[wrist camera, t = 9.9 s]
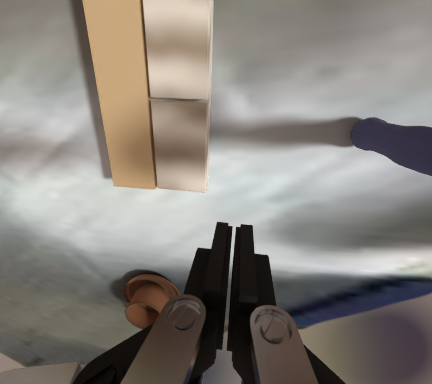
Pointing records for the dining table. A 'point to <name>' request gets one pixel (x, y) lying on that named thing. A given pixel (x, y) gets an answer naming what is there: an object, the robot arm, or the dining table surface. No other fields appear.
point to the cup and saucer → (147, 298)
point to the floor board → (127, 89)
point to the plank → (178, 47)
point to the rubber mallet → (396, 143)
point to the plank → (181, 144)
